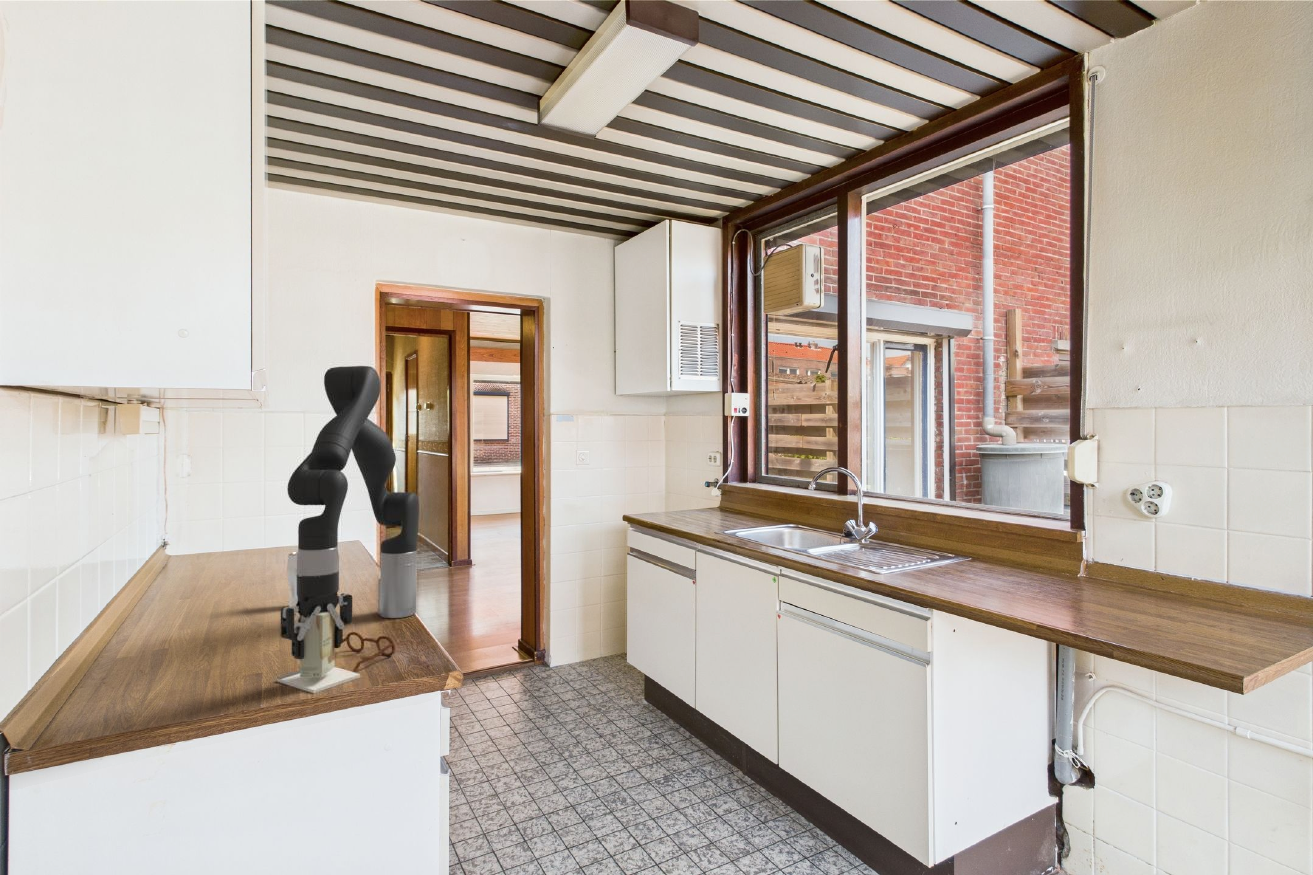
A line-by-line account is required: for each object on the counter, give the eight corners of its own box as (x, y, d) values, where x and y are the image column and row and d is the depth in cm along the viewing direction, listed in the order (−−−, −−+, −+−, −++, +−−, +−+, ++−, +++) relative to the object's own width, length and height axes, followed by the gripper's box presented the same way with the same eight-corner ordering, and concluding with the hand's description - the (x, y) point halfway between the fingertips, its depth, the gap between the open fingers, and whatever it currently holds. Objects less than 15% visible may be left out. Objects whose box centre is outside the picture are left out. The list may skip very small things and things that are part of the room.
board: (276, 681, 134) (276, 677, 134) (323, 666, 143) (323, 663, 143) (313, 693, 128) (313, 689, 128) (360, 677, 137) (360, 673, 137)
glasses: (396, 658, 150) (396, 635, 150) (351, 678, 138) (352, 653, 137) (349, 651, 154) (349, 629, 154) (301, 670, 142) (302, 646, 142)
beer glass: (306, 609, 188) (306, 556, 188) (281, 609, 188) (282, 555, 188) (319, 603, 195) (319, 551, 195) (295, 603, 195) (295, 551, 195)
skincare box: (322, 678, 131) (322, 615, 131) (299, 678, 131) (299, 615, 131) (335, 666, 138) (335, 606, 138) (313, 666, 137) (313, 606, 137)
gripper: (338, 562, 142) (338, 640, 142) (271, 574, 130) (270, 659, 130) (362, 566, 138) (361, 646, 139) (294, 579, 126) (294, 666, 126)
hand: (317, 652), depth 134 cm, fingers closed on skincare box, 7 cm apart
